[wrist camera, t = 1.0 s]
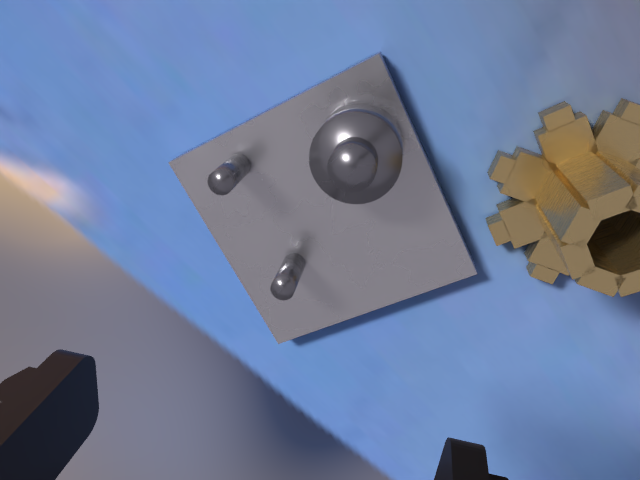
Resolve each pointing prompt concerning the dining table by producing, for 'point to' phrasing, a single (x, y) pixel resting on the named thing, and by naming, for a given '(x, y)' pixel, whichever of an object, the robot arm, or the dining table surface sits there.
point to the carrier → (327, 204)
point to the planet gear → (575, 199)
